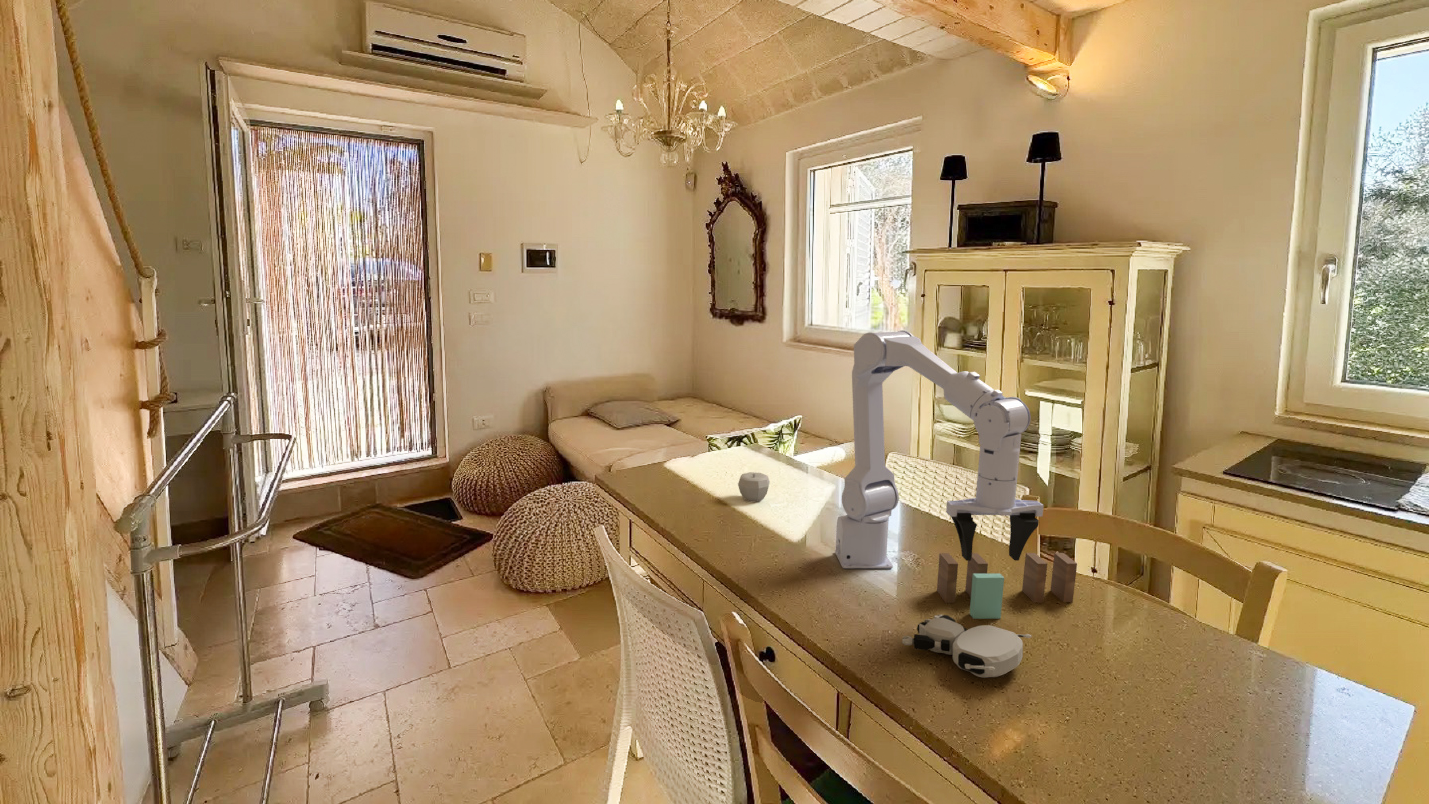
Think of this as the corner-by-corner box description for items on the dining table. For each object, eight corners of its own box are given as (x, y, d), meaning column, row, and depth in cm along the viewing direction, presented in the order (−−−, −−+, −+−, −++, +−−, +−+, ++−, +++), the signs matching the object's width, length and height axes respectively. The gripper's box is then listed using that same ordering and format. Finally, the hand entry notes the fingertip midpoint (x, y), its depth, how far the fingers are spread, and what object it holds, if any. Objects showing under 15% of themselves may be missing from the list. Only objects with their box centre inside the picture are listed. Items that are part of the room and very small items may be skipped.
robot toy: (896, 659, 101) (998, 697, 91) (896, 630, 101) (998, 665, 90) (937, 630, 110) (1035, 661, 99) (937, 603, 109) (1036, 631, 99)
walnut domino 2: (975, 602, 117) (978, 563, 116) (965, 590, 121) (968, 552, 120) (984, 602, 117) (987, 563, 116) (974, 590, 121) (977, 553, 120)
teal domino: (1000, 618, 112) (1004, 577, 110) (973, 618, 112) (976, 577, 110) (996, 613, 113) (1000, 573, 112) (969, 613, 113) (972, 573, 112)
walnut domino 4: (1063, 602, 117) (1067, 563, 116) (1050, 590, 122) (1054, 552, 120) (1072, 602, 117) (1077, 563, 116) (1059, 590, 122) (1063, 552, 120)
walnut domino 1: (945, 602, 117) (948, 563, 116) (936, 590, 121) (939, 553, 120) (955, 602, 117) (958, 563, 116) (945, 590, 121) (948, 553, 120)
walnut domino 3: (1033, 602, 117) (1037, 563, 116) (1022, 590, 122) (1025, 552, 120) (1043, 602, 117) (1047, 563, 116) (1031, 590, 122) (1034, 552, 120)
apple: (731, 501, 167) (731, 474, 166) (747, 492, 174) (747, 467, 173) (760, 507, 163) (761, 480, 162) (775, 498, 170) (776, 472, 169)
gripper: (960, 483, 104) (954, 568, 107) (1056, 483, 104) (1047, 568, 107) (944, 470, 111) (938, 550, 113) (1034, 470, 111) (1026, 550, 114)
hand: (990, 558), depth 111 cm, fingers open, 7 cm apart
